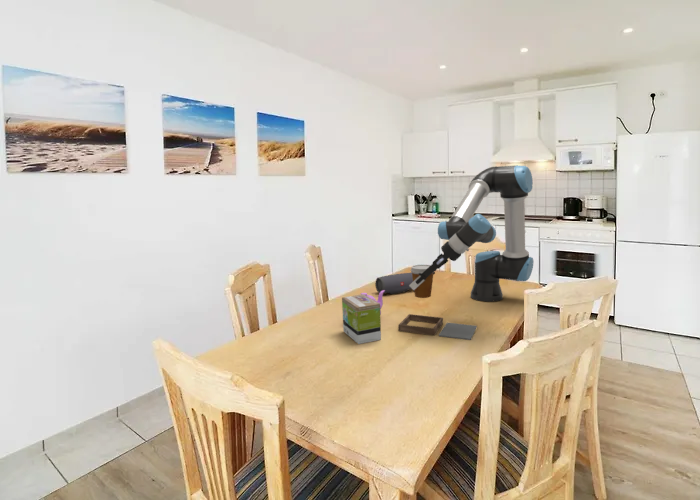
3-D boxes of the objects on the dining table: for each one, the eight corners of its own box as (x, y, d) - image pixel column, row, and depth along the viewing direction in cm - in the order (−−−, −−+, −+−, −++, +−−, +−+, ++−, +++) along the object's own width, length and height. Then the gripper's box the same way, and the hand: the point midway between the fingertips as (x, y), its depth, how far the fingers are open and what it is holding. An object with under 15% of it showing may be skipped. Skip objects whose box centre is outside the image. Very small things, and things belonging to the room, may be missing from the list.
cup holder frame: (409, 319, 186) (409, 314, 185) (442, 323, 180) (442, 317, 179) (398, 330, 173) (398, 324, 172) (434, 335, 167) (434, 329, 166)
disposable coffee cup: (434, 299, 168) (434, 269, 166) (410, 299, 170) (409, 269, 168) (435, 292, 178) (434, 264, 175) (411, 292, 180) (411, 264, 177)
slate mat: (447, 323, 179) (447, 322, 179) (476, 327, 174) (476, 325, 174) (438, 336, 166) (438, 334, 166) (470, 340, 161) (470, 338, 161)
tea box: (342, 332, 173) (341, 296, 171) (365, 328, 177) (364, 293, 175) (357, 344, 160) (356, 306, 157) (381, 340, 164) (381, 302, 161)
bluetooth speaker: (383, 297, 222) (383, 278, 220) (374, 293, 230) (374, 275, 228) (420, 291, 231) (420, 273, 229) (411, 287, 239) (411, 270, 238)
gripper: (456, 260, 155) (413, 299, 164) (467, 249, 174) (428, 285, 184) (441, 244, 156) (400, 284, 165) (454, 236, 176) (416, 272, 185)
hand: (415, 284), depth 174 cm, fingers closed on disposable coffee cup, 9 cm apart
